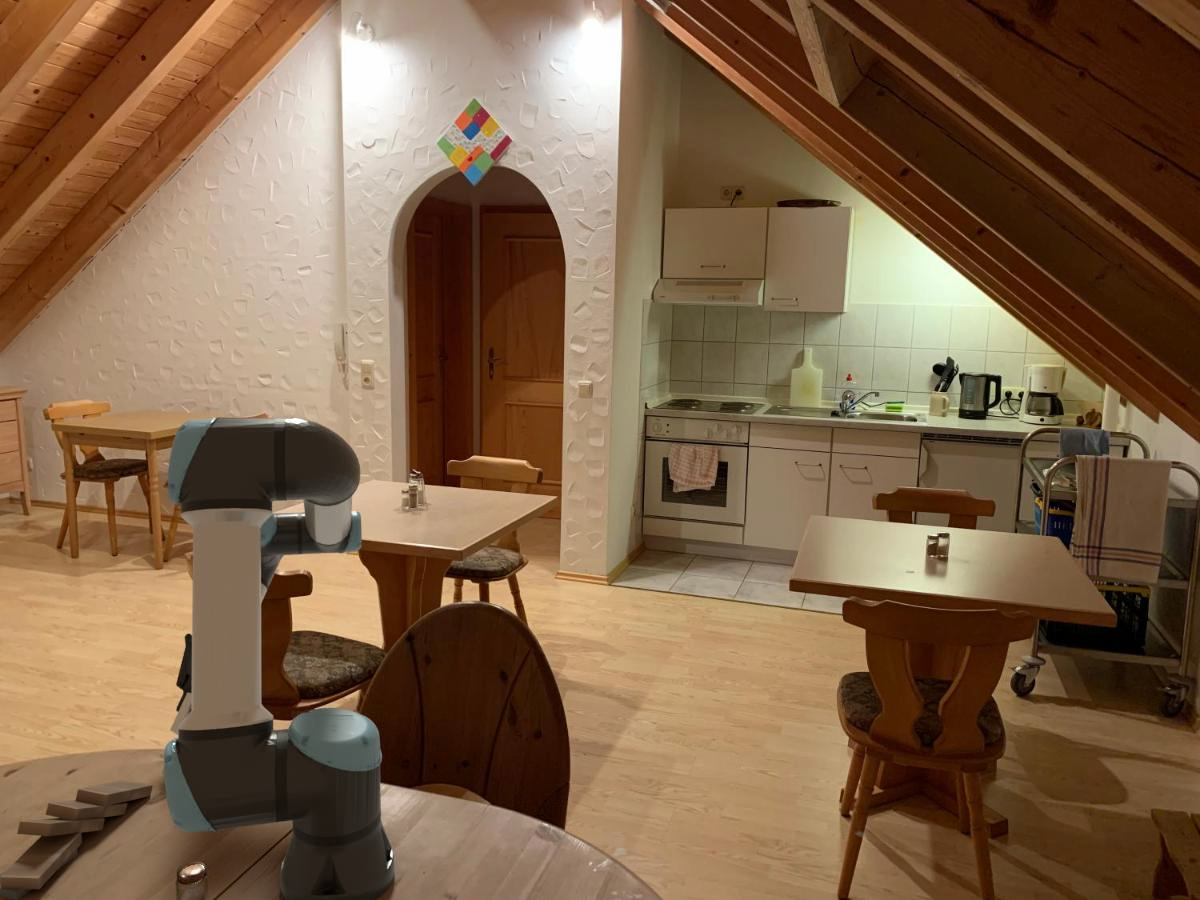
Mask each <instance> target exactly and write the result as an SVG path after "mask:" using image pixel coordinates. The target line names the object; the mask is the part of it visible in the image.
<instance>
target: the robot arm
mask: <svg viewBox="0 0 1200 900" xmlns="http://www.w3.org/2000/svg"><path fill="white" fill-rule="evenodd" d="M168 462H169V463H168V469H167V497H168V500H169V502H170V503H171V504H173V505H176V506H180V518H182V519H183V520H184V521H185V522H186V523H187V524H188V525H189V526H190V527H191V529H192V533H193V534H192V613H191V615H192V616H191V631H192V632H191V633H186V634H185V636H184V643H185V644H184V645H185V647H184V651H183V655H182V659H181V663H180V667H179V671H178V676H177V680H176V683H175V685H176V687H177V688H179V689H180V690H182V695H181V697H180V700H179V702H178V703H177V706H176V710H175V711H176V712H177V715H176V716H175V718H174V721H173V723H172V725H171V726H170V730H169V731H171V732H173V733H174V734H175V735H177V738H173V739H172V740H170V741H168V742H167V743H166V745H165V747H164V751H163V752H164V753H163V759H164V761H163V763H164V764H163V765H164V766H163V778H164V779H163V781H164V782H163V783H164V790H165V796H166V801H167V806H168V810H169V814H170V818H171V819H172V822H173V824H174V825H175V826H176V827H177V828H178V829H179V830H181V831H182V832H186V833H194V832H195V833H196V832H197V833H198V832H209V831H210V832H213V833H215V832H216V833H217V832H219V831H220V830H227V829H234V828H241V827H243V828H244V827H250V826H258V825H265V824H267V825H268V824H273V823H274V824H275V823H280V822H290V821H292V822H291V823H292V833H291V836H290V838H289V839H290V840H289V842H288V845H287V849H286V851H285V855H284V858H283V861H282V863H281V865H280V871H279V883H280V885H279V887H280V893H281V895H282V898H283V899H284V900H376V899H377V898H378V897H380V896H381V895H382V894H383V893H384V892H385V891H386V890H387V889H388V888H389V886H390V885H391V883H392V881H393V880H394V879H393V878H394V876H395V875H394V874H395V856H394V851H393V849H392V848H393V847H392V845H391V842H390V839H389V838H388V834H387V832H386V830H385V828H384V825H383V823H382V822H383V821H382V802H381V801H382V800H381V799H382V798H381V797H382V796H381V795H382V794H381V793H382V791H381V763H382V761H383V754H382V750H381V741H380V732H379V729H378V728H377V726H376V724H375V723H374V722H373V721H372V720H371V719H370V718H368V717H367V716H366V715H363V714H360V713H359V712H357V711H356V710H351V709H347V708H346V709H345V708H342V707H341V708H339V707H321V708H320V707H319V708H314V709H310V710H309V711H308V712H302V713H300V714H298V715H297V716H295V717H294V718H293V719H292V721H291V723H290V724H289V727H288V728H284V729H274V715H273V714H272V713H271V712H270V711H269V710H268V709H266V708H265V707H264V705H263V704H262V602H263V601H264V598H265V596H266V594H267V591H268V589H269V586H270V584H271V582H272V580H273V578H274V576H275V574H276V571H277V569H278V567H279V565H280V563H281V560H282V559H283V557H284V556H293V555H294V556H297V555H312V554H313V555H314V554H315V555H317V554H318V555H319V554H341V555H342V554H345V553H352V552H357V551H360V549H361V548H362V540H363V539H362V538H363V537H362V533H363V532H362V515H361V513H360V512H359V511H357V510H353V496H354V494H355V493H356V492H357V490H358V488H359V485H360V482H361V465H360V461H359V458H358V456H357V454H356V452H355V451H354V449H353V448H352V446H351V445H350V444H349V443H348V442H347V441H346V440H345V439H344V438H343V437H342V436H340V435H339V434H338V433H337V432H335V431H333V430H331V429H330V428H329V427H326V426H325V425H322V424H320V423H319V422H315V421H313V420H309V419H305V418H301V417H300V418H299V417H279V418H278V417H275V418H274V417H222V416H221V417H219V416H215V417H213V418H202V419H189V420H187V421H185V422H183V423H182V424H181V425H180V426H179V427H178V429H177V432H176V434H175V437H174V438H173V442H172V447H171V450H170V454H169V461H168ZM298 500H303V508H304V509H303V510H304V512H282V513H281V512H280V513H279V512H278V513H275V512H274V513H273V503H274V502H278V501H279V502H282V501H298Z"/></svg>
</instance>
